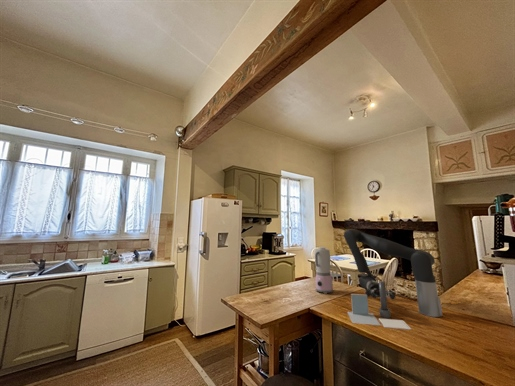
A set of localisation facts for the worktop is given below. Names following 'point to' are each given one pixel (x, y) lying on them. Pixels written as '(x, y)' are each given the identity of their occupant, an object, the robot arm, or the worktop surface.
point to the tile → (359, 304)
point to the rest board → (394, 324)
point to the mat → (363, 319)
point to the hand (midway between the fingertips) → (384, 297)
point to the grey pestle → (383, 301)
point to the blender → (323, 270)
